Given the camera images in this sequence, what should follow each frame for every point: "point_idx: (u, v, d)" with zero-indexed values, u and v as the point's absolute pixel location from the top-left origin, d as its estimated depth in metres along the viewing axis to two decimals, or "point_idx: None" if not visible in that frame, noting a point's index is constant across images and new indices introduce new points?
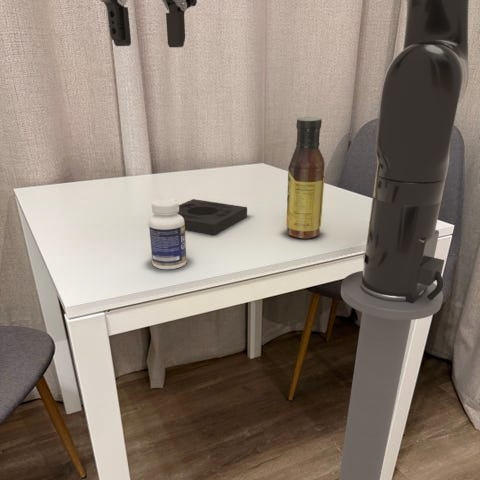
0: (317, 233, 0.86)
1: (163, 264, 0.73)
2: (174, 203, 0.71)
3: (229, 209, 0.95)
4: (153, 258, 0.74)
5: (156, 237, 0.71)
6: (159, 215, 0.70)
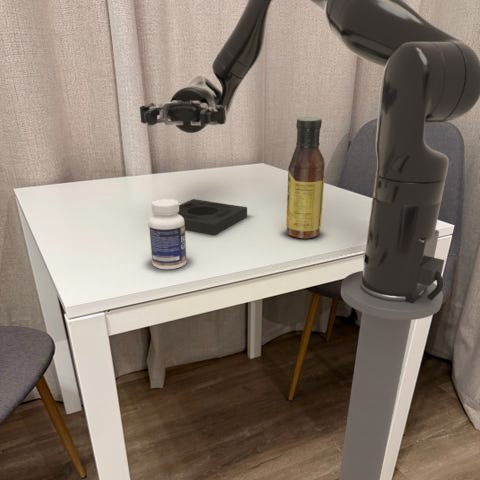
0: (317, 233, 0.86)
1: (163, 264, 0.73)
2: (174, 203, 0.71)
3: (229, 209, 0.95)
4: (153, 258, 0.74)
5: (156, 237, 0.71)
6: (159, 215, 0.70)
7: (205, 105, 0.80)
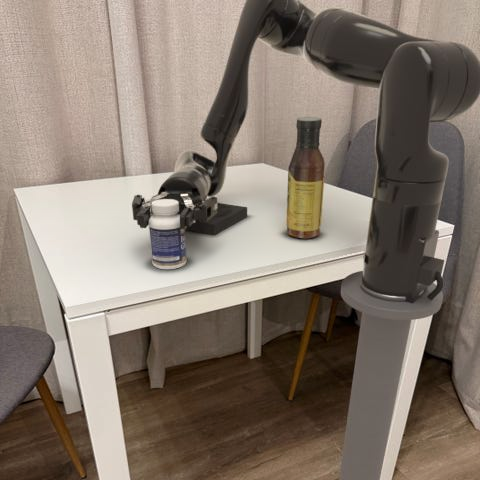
0: (317, 233, 0.86)
1: (163, 264, 0.73)
2: (174, 203, 0.70)
3: (229, 209, 0.95)
4: (153, 258, 0.74)
5: (156, 237, 0.71)
6: (159, 215, 0.70)
7: (189, 201, 0.74)
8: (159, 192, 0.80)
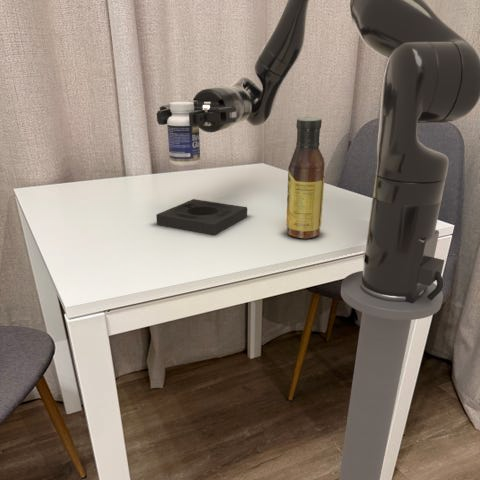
0: (317, 233, 0.86)
1: (176, 159, 0.83)
2: (188, 103, 0.79)
3: (229, 209, 0.95)
4: None
5: (171, 134, 0.81)
6: (174, 113, 0.80)
7: (207, 106, 0.83)
8: None
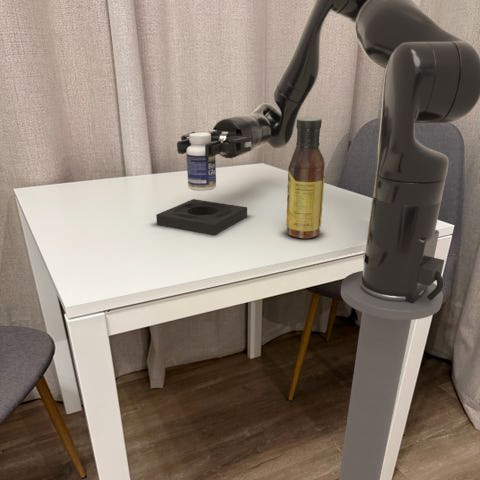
0: (317, 233, 0.86)
1: (193, 185, 0.90)
2: (205, 135, 0.87)
3: (229, 209, 0.95)
4: (188, 180, 0.91)
5: (189, 162, 0.89)
6: (192, 143, 0.87)
7: (224, 137, 0.90)
8: None
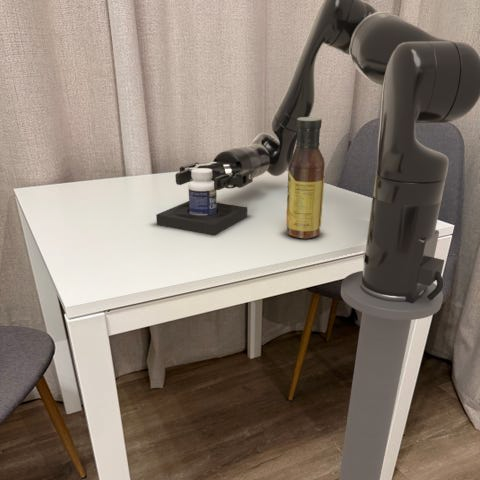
0: (317, 233, 0.86)
1: None
2: (207, 171, 0.90)
3: (229, 209, 0.95)
4: None
5: (191, 197, 0.92)
6: (194, 179, 0.91)
7: (229, 170, 0.92)
8: None
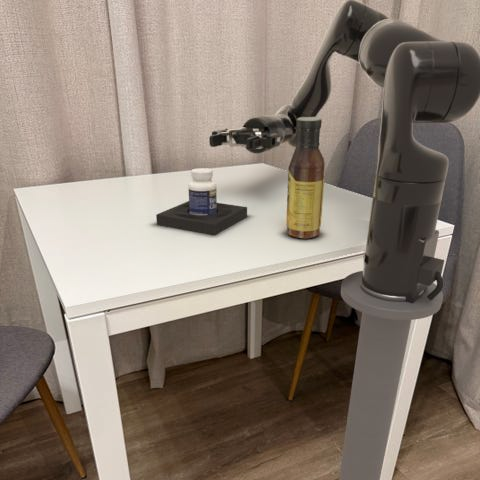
0: (317, 233, 0.86)
1: None
2: (207, 171, 0.90)
3: (229, 209, 0.95)
4: None
5: (191, 197, 0.92)
6: (194, 179, 0.91)
7: (259, 133, 1.00)
8: None
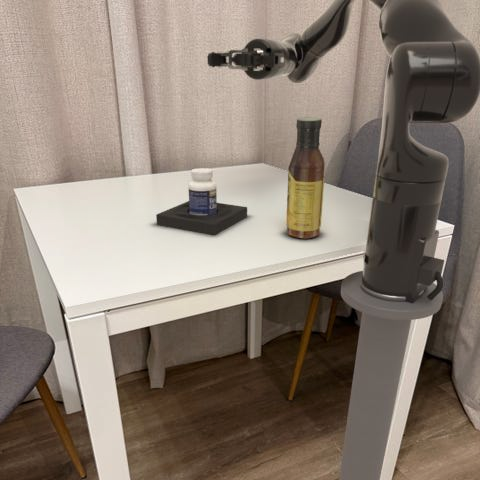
0: (317, 233, 0.86)
1: None
2: (207, 171, 0.90)
3: (229, 209, 0.95)
4: None
5: (191, 197, 0.92)
6: (194, 179, 0.91)
7: (261, 51, 0.93)
8: None
